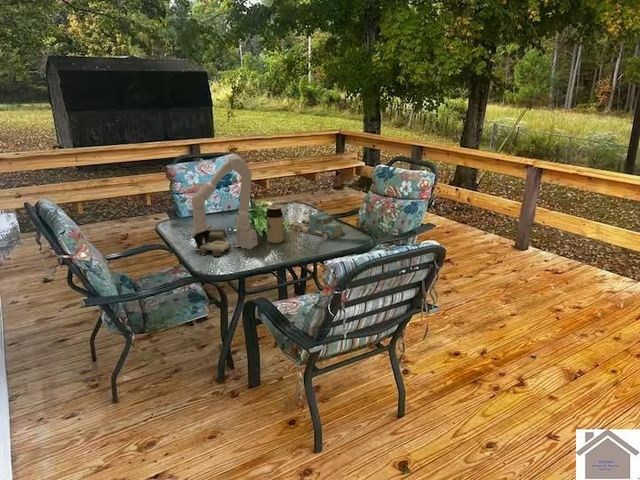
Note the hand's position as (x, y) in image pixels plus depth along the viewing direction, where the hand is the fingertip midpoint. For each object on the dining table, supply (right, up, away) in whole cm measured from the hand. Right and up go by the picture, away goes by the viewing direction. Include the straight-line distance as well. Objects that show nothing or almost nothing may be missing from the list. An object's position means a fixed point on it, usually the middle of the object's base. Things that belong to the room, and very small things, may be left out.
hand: (202, 246), depth 227 cm
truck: (+55, +7, +25) cm, 61 cm away
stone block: (+5, +2, +12) cm, 13 cm away
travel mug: (+34, +2, +11) cm, 36 cm away
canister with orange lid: (0, -1, 0) cm, 1 cm away
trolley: (+5, -3, -3) cm, 6 cm away
